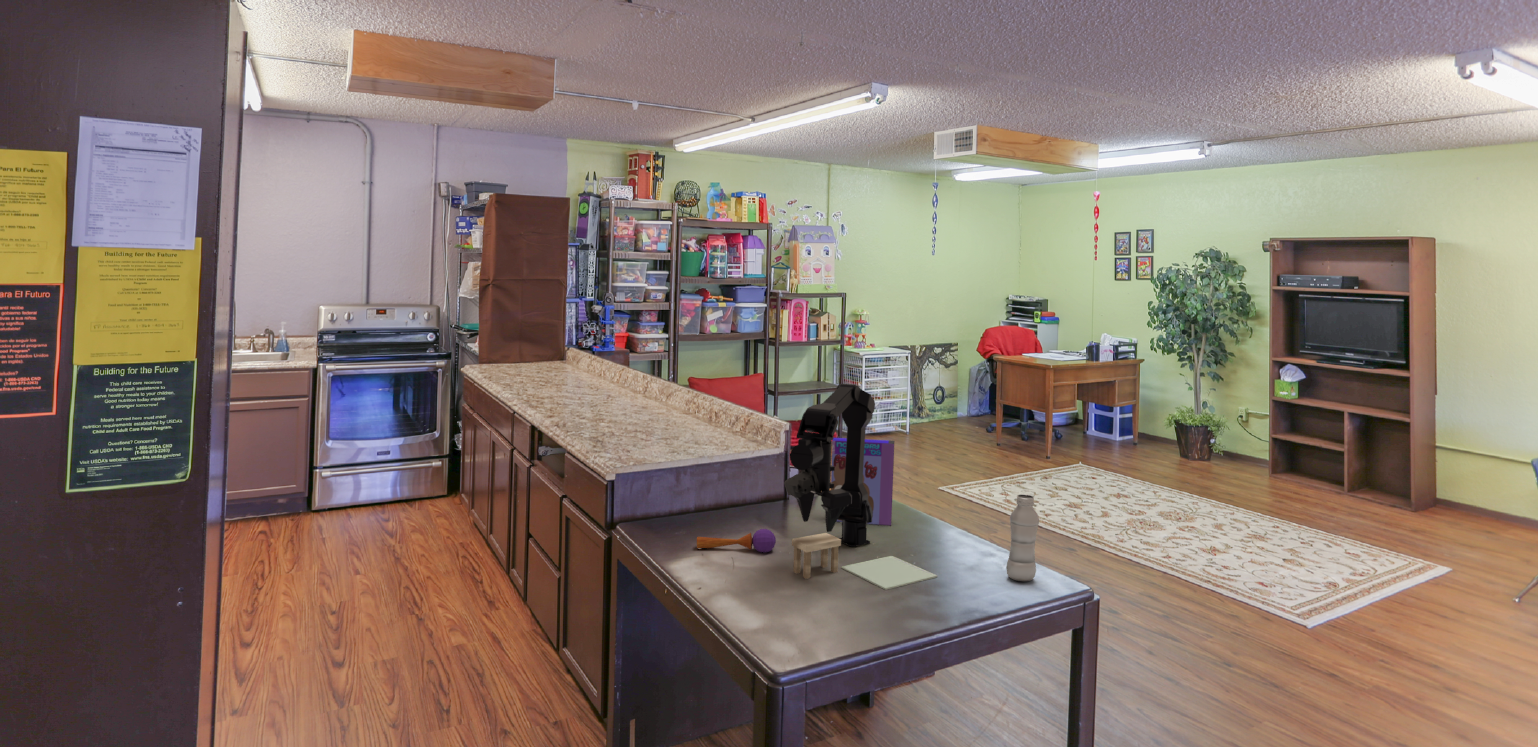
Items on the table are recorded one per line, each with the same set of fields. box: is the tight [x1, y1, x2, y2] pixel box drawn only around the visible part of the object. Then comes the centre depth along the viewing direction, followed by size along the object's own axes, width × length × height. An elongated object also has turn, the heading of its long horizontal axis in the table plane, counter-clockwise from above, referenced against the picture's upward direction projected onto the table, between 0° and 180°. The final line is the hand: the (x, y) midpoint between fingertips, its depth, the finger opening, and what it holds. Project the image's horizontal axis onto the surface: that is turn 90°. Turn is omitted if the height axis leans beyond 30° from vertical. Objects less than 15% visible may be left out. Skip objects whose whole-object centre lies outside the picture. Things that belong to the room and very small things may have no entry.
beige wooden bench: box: [791, 532, 842, 580], centre depth 190 cm, size 6×10×8 cm, turn 123°
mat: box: [841, 555, 938, 591], centre depth 191 cm, size 16×16×1 cm
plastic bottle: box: [1005, 493, 1040, 582], centre depth 187 cm, size 6×7×20 cm
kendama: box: [696, 528, 777, 553], centre depth 205 cm, size 6×6×20 cm
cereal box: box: [830, 437, 895, 527], centre depth 231 cm, size 17×5×24 cm, turn 81°
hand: (817, 526), depth 189 cm, fingers open, 9 cm apart
